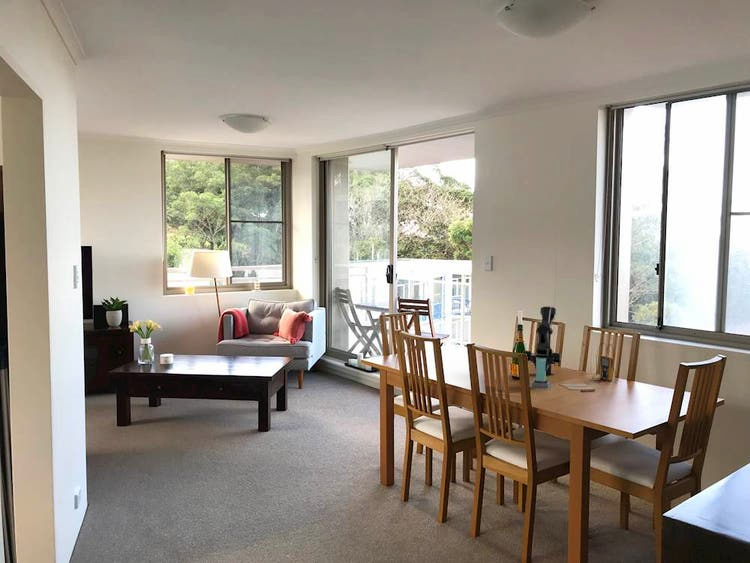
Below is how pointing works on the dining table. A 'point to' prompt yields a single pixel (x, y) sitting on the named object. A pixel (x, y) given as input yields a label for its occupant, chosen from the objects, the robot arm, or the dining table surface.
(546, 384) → the case base
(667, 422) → the dining table surface
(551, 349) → the robot arm
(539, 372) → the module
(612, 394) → the dining table surface
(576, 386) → the board
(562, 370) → the dining table surface
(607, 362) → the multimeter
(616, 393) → the dining table surface
